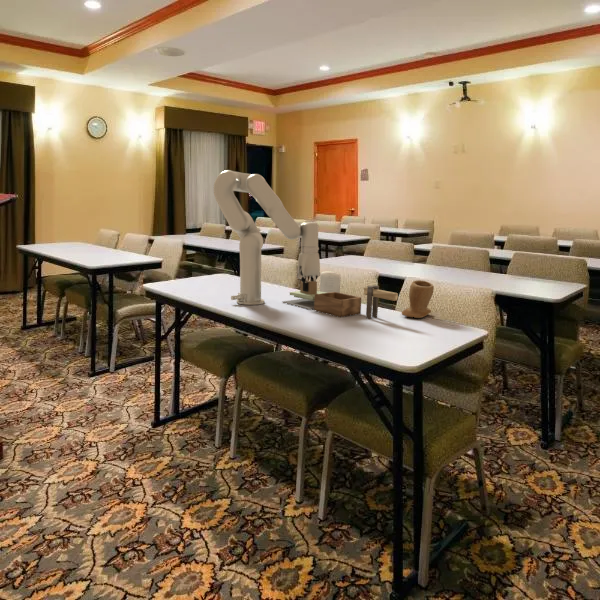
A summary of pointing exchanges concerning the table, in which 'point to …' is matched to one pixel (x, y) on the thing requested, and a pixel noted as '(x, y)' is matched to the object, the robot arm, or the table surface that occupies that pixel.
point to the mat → (302, 303)
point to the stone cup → (419, 299)
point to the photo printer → (330, 282)
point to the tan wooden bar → (383, 294)
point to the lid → (311, 291)
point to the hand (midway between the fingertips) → (308, 290)
